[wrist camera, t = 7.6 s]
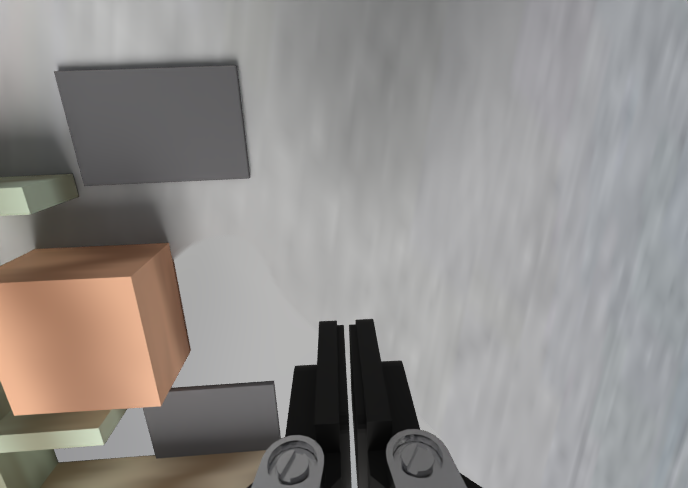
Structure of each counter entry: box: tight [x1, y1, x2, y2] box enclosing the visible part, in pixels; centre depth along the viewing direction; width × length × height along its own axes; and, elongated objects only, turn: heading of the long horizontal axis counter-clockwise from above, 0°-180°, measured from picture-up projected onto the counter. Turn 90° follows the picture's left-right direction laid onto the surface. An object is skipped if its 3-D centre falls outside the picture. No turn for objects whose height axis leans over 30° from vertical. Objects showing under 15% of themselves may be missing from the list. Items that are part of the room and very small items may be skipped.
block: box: [0, 243, 191, 416], centre depth 17 cm, size 6×6×4 cm
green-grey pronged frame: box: [0, 174, 266, 488], centre depth 17 cm, size 16×22×3 cm
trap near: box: [54, 65, 250, 186], centre depth 16 cm, size 7×4×1 cm, turn 92°
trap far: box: [143, 381, 281, 459], centre depth 21 cm, size 7×4×1 cm, turn 92°
